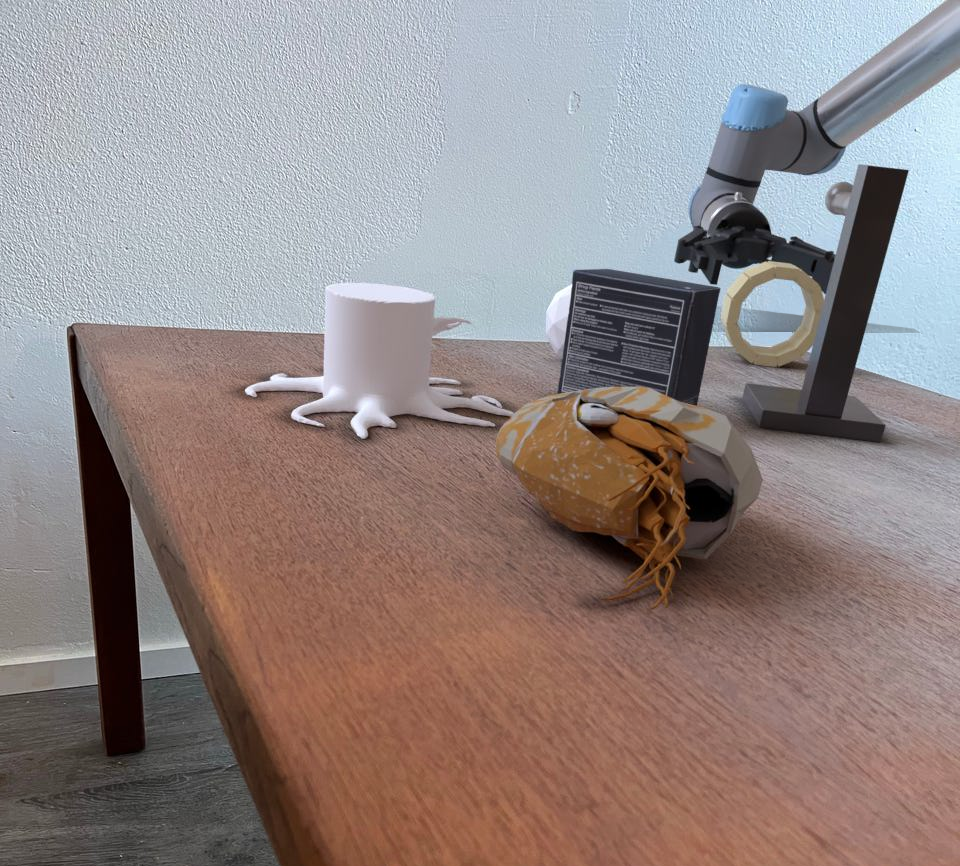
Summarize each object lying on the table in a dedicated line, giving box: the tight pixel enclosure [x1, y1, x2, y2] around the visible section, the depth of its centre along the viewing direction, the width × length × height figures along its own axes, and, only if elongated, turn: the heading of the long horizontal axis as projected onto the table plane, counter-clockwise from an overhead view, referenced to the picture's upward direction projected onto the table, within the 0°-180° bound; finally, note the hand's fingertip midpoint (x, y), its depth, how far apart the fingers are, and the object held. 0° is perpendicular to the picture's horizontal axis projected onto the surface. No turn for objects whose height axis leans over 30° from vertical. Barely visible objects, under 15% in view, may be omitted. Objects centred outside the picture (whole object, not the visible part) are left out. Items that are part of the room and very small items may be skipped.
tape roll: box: [720, 261, 825, 368], centre depth 105 cm, size 10×5×10 cm, turn 85°
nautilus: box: [494, 387, 764, 611], centre depth 53 cm, size 8×22×15 cm
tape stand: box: [741, 163, 910, 443], centre depth 83 cm, size 10×14×20 cm
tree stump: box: [244, 282, 515, 440], centre depth 75 cm, size 20×19×8 cm
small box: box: [556, 268, 722, 406], centre depth 80 cm, size 11×6×10 cm, turn 58°
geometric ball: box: [544, 283, 572, 358], centre depth 96 cm, size 8×8×8 cm
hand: (775, 278), depth 111 cm, fingers open, 13 cm apart
